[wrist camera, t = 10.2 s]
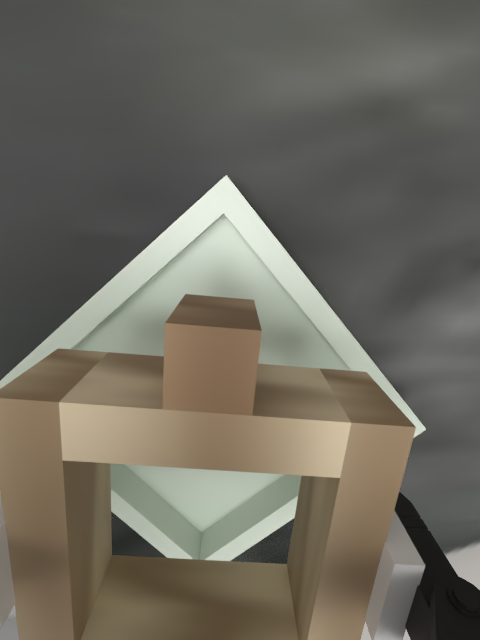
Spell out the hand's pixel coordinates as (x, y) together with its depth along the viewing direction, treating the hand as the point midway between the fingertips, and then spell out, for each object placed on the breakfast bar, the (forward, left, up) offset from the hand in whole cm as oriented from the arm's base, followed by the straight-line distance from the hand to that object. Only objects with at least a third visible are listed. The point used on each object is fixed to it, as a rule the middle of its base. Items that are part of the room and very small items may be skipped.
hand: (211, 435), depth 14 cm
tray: (0, 0, -4) cm, 4 cm away
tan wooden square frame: (0, 0, +3) cm, 3 cm away
